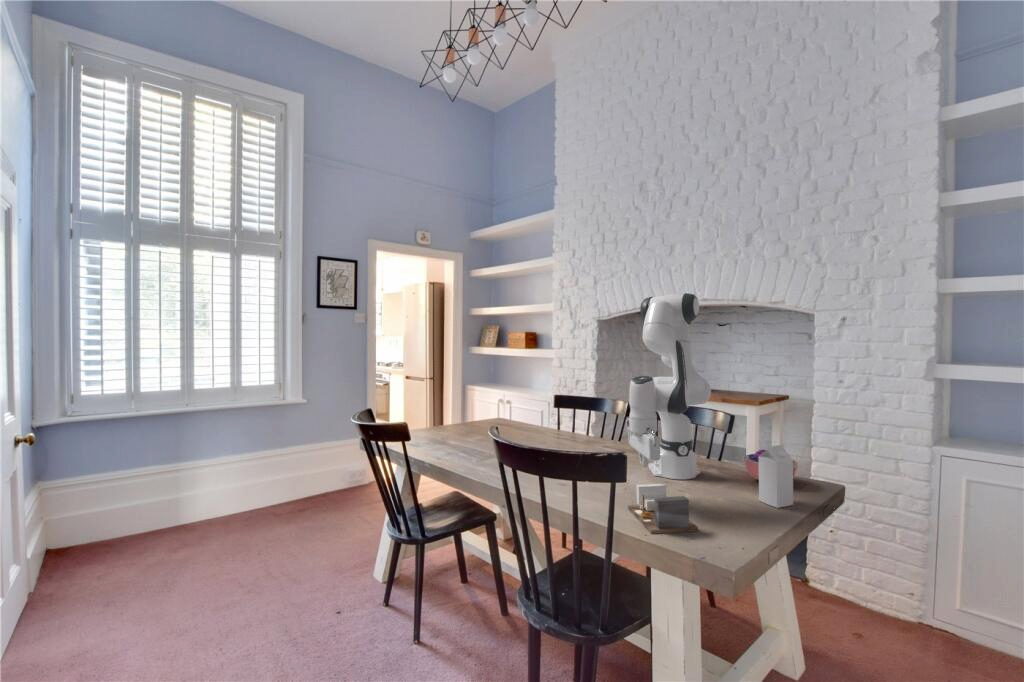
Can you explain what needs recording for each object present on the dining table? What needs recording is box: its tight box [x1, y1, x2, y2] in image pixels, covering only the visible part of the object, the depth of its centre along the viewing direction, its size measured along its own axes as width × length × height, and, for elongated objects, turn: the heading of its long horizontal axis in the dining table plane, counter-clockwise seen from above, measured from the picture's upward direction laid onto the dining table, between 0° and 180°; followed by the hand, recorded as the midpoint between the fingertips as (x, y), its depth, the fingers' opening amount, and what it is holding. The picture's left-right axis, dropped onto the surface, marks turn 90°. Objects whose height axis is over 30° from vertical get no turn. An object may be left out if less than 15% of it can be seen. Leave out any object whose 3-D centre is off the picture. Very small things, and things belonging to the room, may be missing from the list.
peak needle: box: [641, 495, 651, 517], centre depth 146 cm, size 1×3×6 cm, turn 95°
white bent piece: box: [636, 483, 667, 511], centre depth 151 cm, size 8×9×7 cm
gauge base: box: [627, 495, 699, 534], centre depth 147 cm, size 20×14×9 cm
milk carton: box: [758, 444, 794, 509], centre depth 158 cm, size 7×7×19 cm
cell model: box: [741, 449, 799, 481], centre depth 180 cm, size 17×20×11 cm
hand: (644, 465), depth 161 cm, fingers closed
